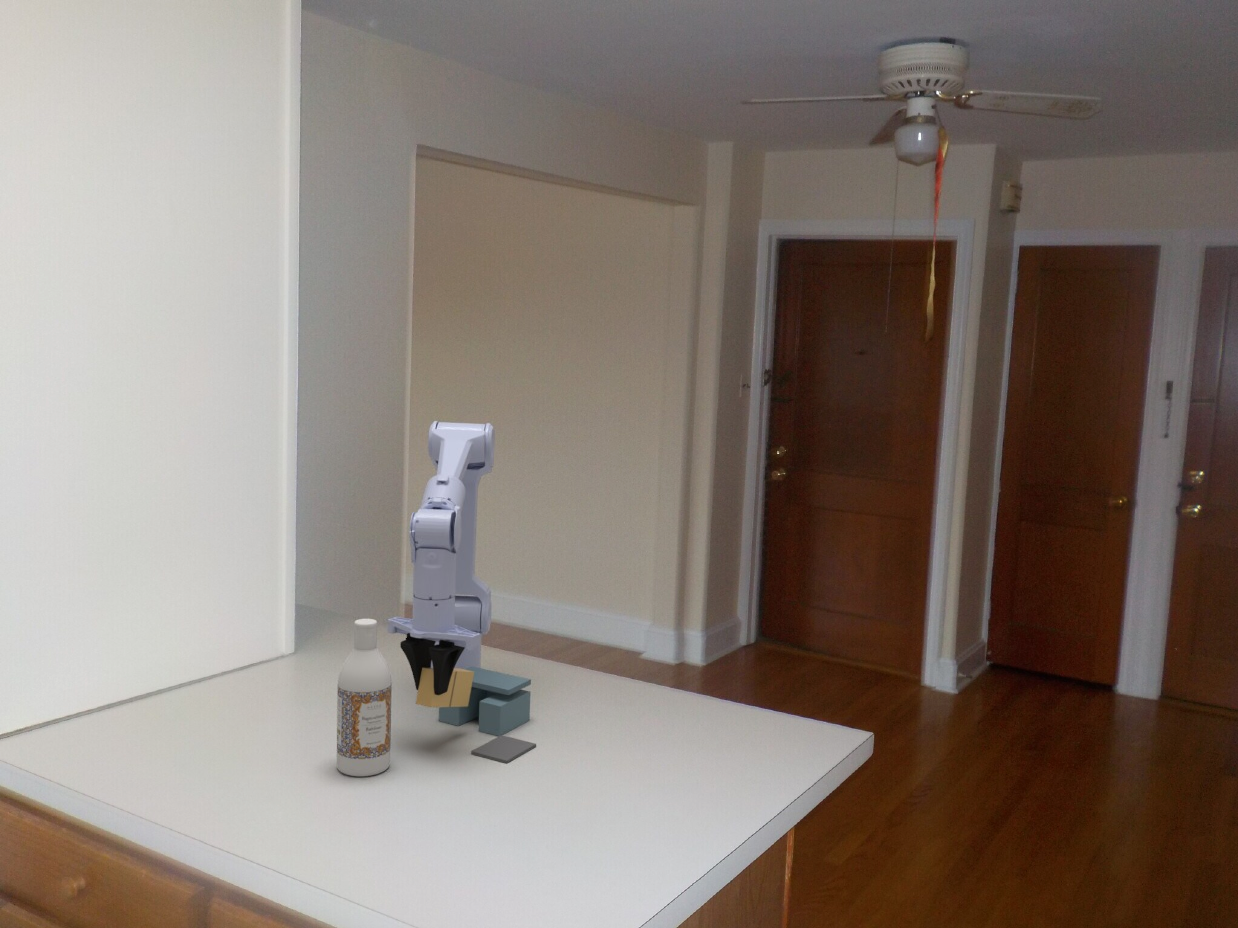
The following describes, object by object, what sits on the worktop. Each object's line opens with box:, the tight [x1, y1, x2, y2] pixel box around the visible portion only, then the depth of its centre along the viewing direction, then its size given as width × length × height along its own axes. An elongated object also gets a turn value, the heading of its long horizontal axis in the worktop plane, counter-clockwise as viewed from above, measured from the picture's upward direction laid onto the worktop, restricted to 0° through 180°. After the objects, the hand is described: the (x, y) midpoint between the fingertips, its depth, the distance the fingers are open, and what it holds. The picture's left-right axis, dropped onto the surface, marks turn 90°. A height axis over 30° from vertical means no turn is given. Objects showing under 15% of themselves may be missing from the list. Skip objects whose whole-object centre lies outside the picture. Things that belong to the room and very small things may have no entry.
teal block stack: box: [438, 666, 532, 737], centre depth 164 cm, size 11×8×6 cm
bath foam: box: [336, 618, 393, 777], centre depth 144 cm, size 7×7×20 cm
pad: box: [470, 734, 537, 764], centre depth 153 cm, size 6×7×1 cm
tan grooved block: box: [415, 668, 474, 708], centre depth 154 cm, size 3×9×5 cm, turn 152°
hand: (431, 690), depth 151 cm, fingers closed on tan grooved block, 3 cm apart
